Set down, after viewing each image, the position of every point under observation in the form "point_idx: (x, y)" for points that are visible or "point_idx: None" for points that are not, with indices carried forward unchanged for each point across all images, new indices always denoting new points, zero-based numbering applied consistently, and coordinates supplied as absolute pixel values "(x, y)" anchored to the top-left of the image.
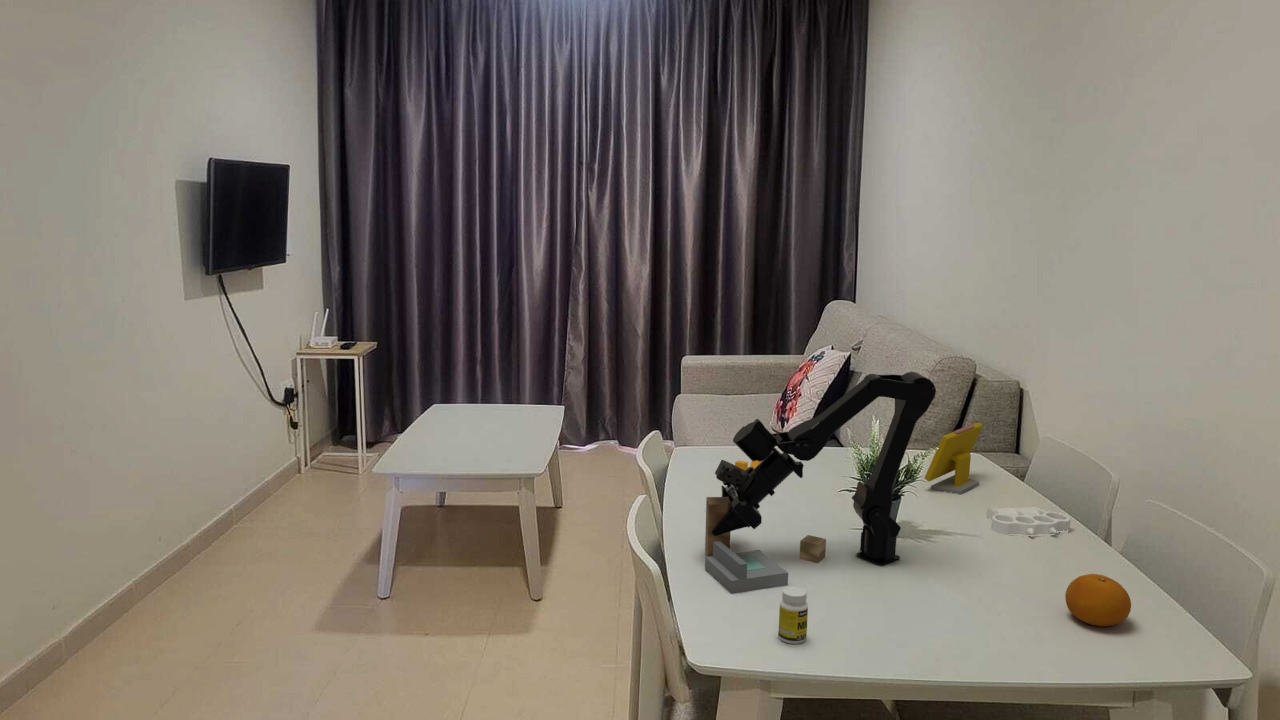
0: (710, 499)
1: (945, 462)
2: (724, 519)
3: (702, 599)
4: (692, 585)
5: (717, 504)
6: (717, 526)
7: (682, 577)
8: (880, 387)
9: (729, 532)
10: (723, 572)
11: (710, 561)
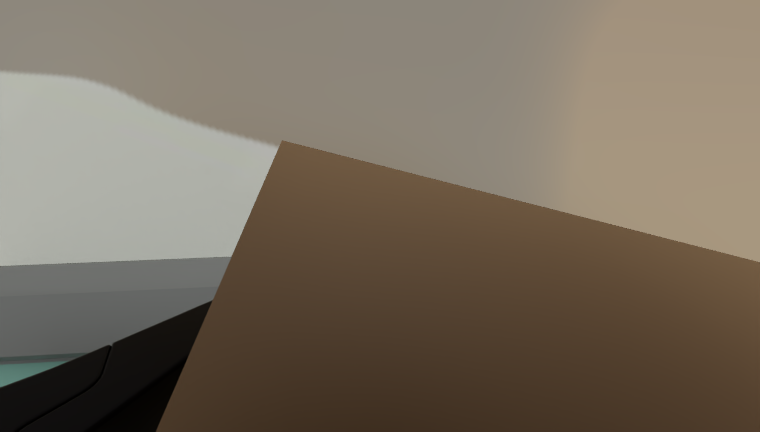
0: (594, 290)
1: None
2: (45, 376)
3: (21, 154)
4: (155, 163)
5: (204, 328)
6: (197, 307)
7: (243, 154)
8: None
9: None
10: (40, 271)
11: (207, 260)
